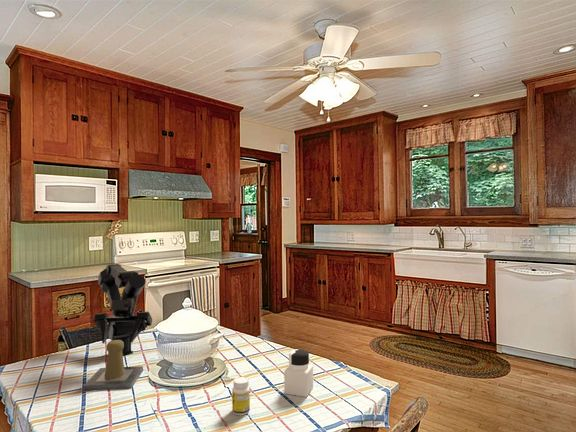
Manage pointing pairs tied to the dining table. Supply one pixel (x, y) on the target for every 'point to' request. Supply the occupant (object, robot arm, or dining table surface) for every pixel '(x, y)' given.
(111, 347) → the cork
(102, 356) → the dining table surface
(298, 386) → the medicine bottle
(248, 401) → the supplement bottle
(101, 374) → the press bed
